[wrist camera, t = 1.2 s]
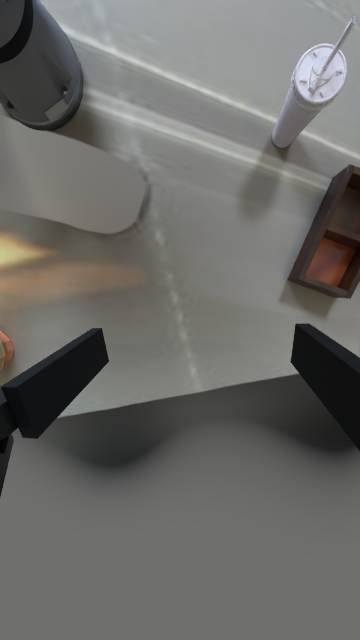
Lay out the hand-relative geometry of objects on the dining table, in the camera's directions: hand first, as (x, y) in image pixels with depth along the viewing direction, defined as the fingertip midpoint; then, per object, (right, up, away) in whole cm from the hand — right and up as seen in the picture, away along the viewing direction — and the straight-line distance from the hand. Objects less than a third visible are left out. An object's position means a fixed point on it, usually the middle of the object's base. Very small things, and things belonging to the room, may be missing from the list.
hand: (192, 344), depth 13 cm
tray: (+28, +17, +22) cm, 39 cm away
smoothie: (+17, +34, +20) cm, 43 cm away
